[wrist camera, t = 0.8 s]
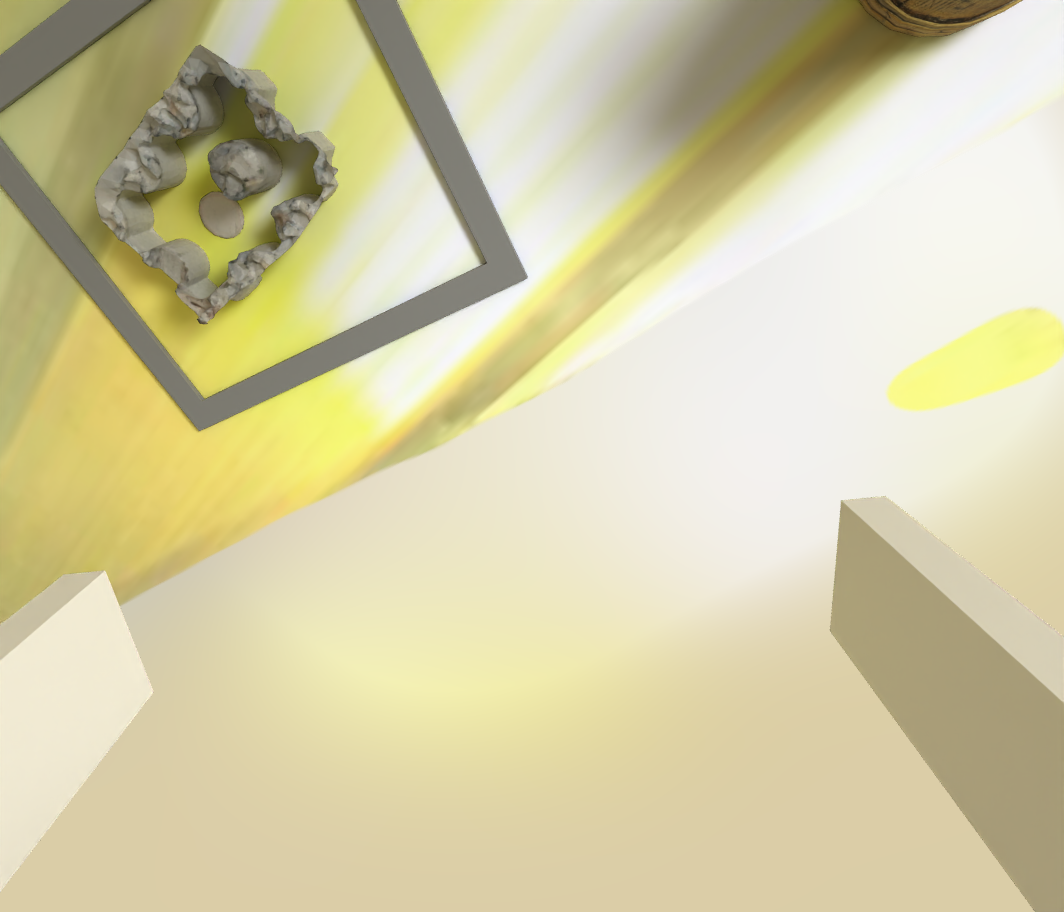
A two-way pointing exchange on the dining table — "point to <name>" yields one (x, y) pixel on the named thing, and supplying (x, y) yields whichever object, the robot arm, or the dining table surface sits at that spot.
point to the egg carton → (232, 167)
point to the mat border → (84, 21)
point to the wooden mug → (934, 14)
